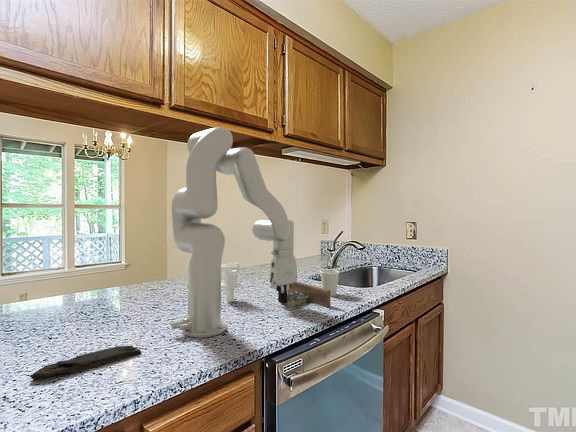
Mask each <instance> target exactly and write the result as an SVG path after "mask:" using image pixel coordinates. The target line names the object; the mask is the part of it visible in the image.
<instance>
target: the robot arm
mask: <svg viewBox="0 0 576 432" xmlns="http://www.w3.org/2000/svg"><path fill="white" fill-rule="evenodd" d="M233 142H234V139H233V134H232V132H231V131H230V130H229V129H228V128H226V127H222V126H217V127H212V128H208V129H205V130H202V131H198V132H195V133H193V134H192V135H190V137H189V138H188V140H187V143H186V145H187V151H188V152H189V155H188V156H187V161H186V166H185V185H186V186H185V187H183V188H180V189H179V190H177V191H176V193H174V195H173V198H172V201H171V218H172V219H171V221H172V232H173V234H172V235H173V241H174V243H175V245H176V247H177V248H178V249H179V250H180V251H182V252H185V253H188V254H191V257H190V261H189V264H188V267H187V268H188V269H187V315H184V318H182V319H181V320H180V321H179V320H177V321H172V322H171V323H170V328H171V330H176V329H179V331H181V332H182V334H184V335H185V336H187V337H189V338H209V337H215V336H217V335H220V334H222V333H223V332H225V331H226V329H227V323H226V322H225V321H223V320H222V288H221V284H222V269H221V265H223V264H222V262H223V260H222V259H223V254H224V249H225V245H226V244H225V243H226V240H225V239H226V238H225V234H224V232H223V231H222V229H221V228H220V227H219V226H218V225H215V224H212V223H207V222H202V219H210V218H212V217H213V216H215V215H216V214H217V211H218V209H219V208H218V206H219V205H218V203H219V201H218V188H217V184H218V183H217V172H218V173H220V174H223V175H225V176H227V175H228V176H231V175H233V176H234V178H235V180H236V182H237V185H238V188H239V192H240V193H241V196H242V198H243V199H244V200H245V201H247V202H248V203H250V204H251V205H253V206H255V207H256V208H258V209H259V210H261V211H262V212H263V213H264V214H265V216H266V217H267V219H266V218H264V219H259V220H256V221H255V222H254V224H253V225H252V228H251V229H252V230H251V231H252V234H253V237H255V238H256V239H257V240H260V241H267V242H272V245H273V247H272V251H270V254H271V255H272V257H271V261H270V265H269V283H270V288H271V289H275V290H276V292H277V295H278V303H280V304H281V303H283V304H284V303H287V294H288V291H289V288H290V287H291V286H292V285H294V284H295V282H298V268H297V265H298V264H297V259H296V257H295V256H294V250H295V249H294V244H295V243H294V242H295V241H294V240H295V239H294V238H295V236H294V235H295V233H294V230H295V229H294V228H295V223H294V221H293V220H291V219H288V215H287V212H286V210H285V208H284V206H283V205H282V203H280V201H278V199H277V198H276V197H275V196H274V195H273V194H272V193H271V191H269V190H268V189H267V186H266V184H265V180H264V177H263V174H262V172H261V169H260V166H259V163H258V161H257V158H256V156H255V152H253V150H252V149H250V148H248V147H244V146H243V147H235V148H234V147H233V148H232V146H233Z"/></svg>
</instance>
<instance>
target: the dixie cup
mask: <svg viewBox="0 0 576 432" xmlns="http://www.w3.org/2000/svg"><path fill="white" fill-rule="evenodd" d="M319 272H320V280H321V288H323V289H327V290H330V291H331V297H335V296H337V291H338V284H339V276H340V270H338V269H331V268H329V269H327V268H326V269H325V268H324V269H321V270H319Z"/></svg>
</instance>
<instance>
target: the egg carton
mask: <svg viewBox="0 0 576 432" xmlns="http://www.w3.org/2000/svg"><path fill="white" fill-rule="evenodd" d="M306 298H308V296H306V295H305V294H303V293H299V292H297V291H295V292H292V293H288V292H287V303H284V304H283V303H280V305H282V306H283V305H285V306H286V307H290V308H291V307H293V308H294V307H295V306H296V305H298V306H300V305H302V304H307V301H306Z"/></svg>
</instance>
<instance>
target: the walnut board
mask: <svg viewBox="0 0 576 432" xmlns="http://www.w3.org/2000/svg"><path fill="white" fill-rule="evenodd" d="M295 291H297V292H299V293H303V294H305V295H306V296H308V298H306V302H307V303H311V304H314V305H318V306H320V307H325V308H331V297H332V296H331V291H330V290H327V289H323V288H322V287H318V286H315V285H311V284H307V283H303V282H298V281H296V282H295V284H294V285H292V286H291V287H290V288H289V291H288V292H287V294H288V293H292V292H295Z"/></svg>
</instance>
